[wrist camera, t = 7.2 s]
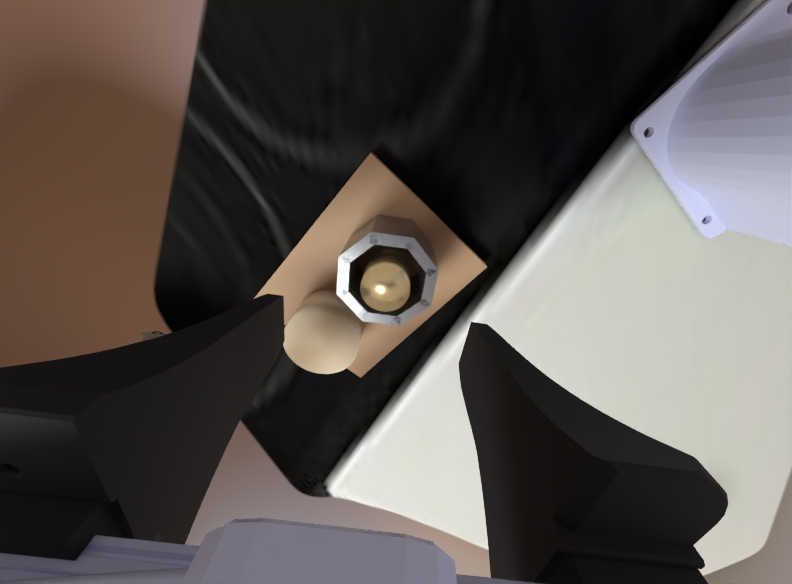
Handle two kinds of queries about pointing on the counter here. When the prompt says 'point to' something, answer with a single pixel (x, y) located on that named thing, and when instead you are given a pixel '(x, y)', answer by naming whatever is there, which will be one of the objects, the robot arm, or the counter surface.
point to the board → (318, 270)
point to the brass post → (386, 278)
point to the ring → (393, 235)
